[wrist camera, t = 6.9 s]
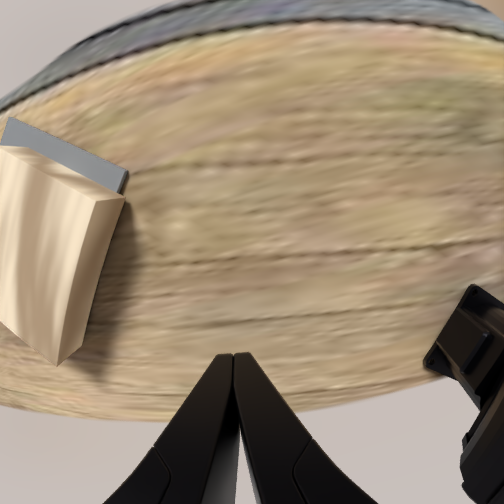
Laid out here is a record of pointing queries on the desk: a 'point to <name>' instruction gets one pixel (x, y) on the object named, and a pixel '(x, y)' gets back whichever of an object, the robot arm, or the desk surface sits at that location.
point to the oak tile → (50, 249)
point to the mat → (64, 154)
